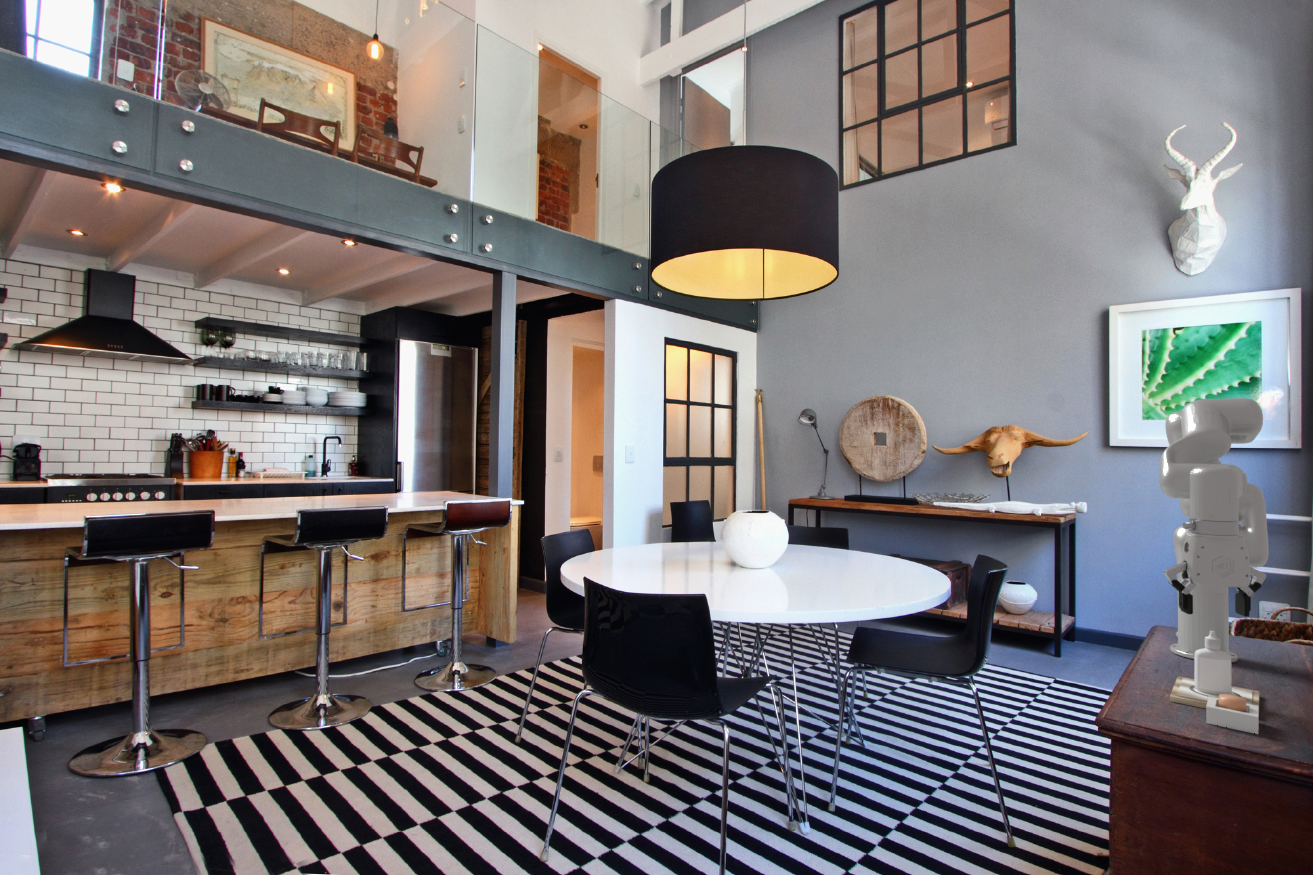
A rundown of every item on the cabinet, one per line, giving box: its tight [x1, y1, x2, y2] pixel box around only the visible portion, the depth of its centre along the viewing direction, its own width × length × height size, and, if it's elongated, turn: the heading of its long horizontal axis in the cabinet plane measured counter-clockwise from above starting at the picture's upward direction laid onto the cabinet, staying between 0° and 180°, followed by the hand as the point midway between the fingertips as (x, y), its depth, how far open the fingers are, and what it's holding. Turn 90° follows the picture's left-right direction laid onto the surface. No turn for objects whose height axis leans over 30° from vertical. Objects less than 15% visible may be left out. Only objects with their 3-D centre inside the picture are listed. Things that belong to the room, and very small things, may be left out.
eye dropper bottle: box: [1193, 631, 1233, 695], centre depth 134 cm, size 4×6×12 cm
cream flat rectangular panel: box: [1169, 676, 1260, 709], centre depth 134 cm, size 16×13×1 cm
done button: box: [1219, 694, 1246, 712], centre depth 122 cm, size 4×4×2 cm
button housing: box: [1205, 696, 1260, 735], centre depth 122 cm, size 7×7×3 cm
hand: (1214, 613), depth 135 cm, fingers open, 9 cm apart
